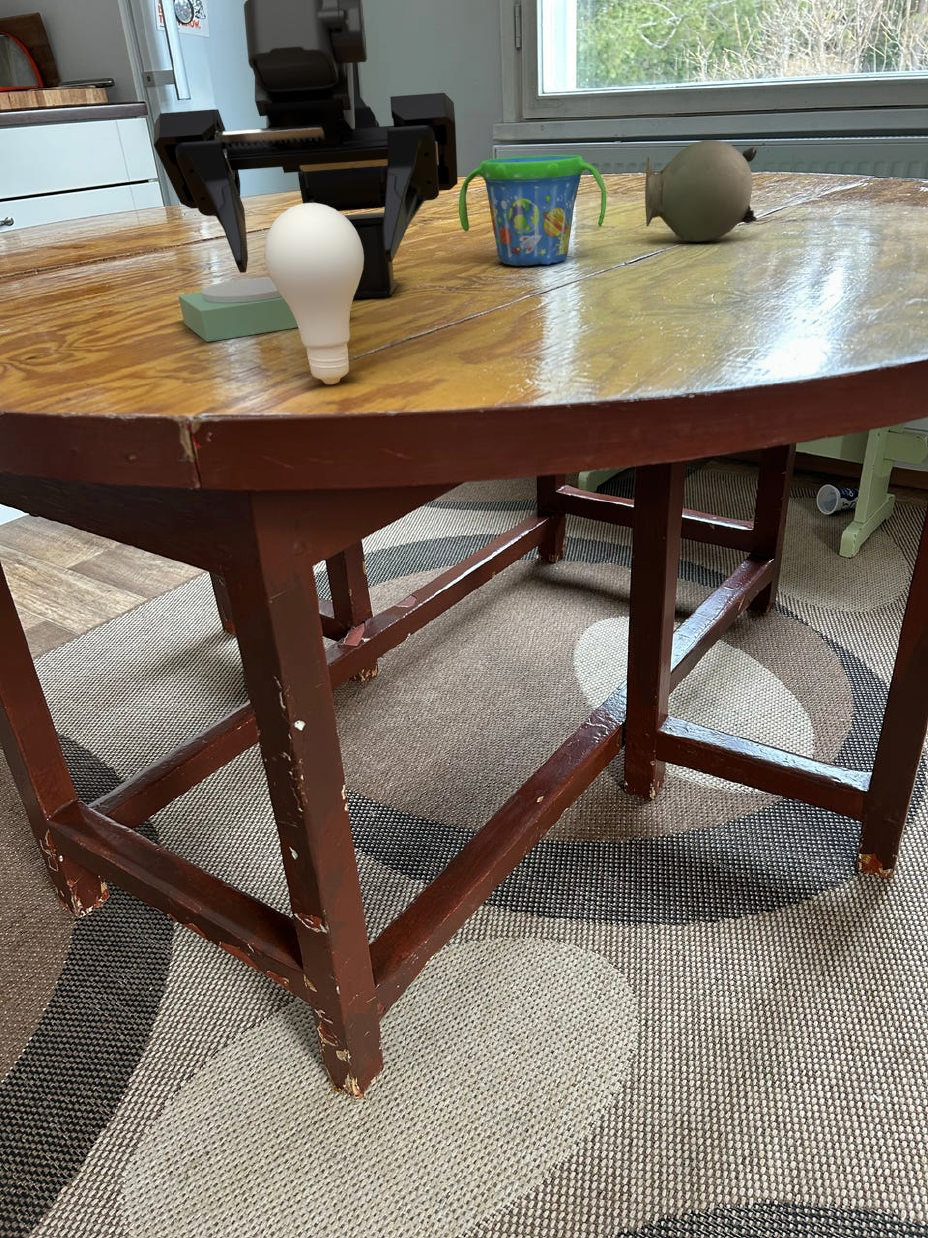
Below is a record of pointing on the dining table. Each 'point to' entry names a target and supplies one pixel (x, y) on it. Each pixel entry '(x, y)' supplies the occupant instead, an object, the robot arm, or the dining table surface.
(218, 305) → the scale
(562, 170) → the snack cup
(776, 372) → the dining table surface
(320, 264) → the lightbulb
